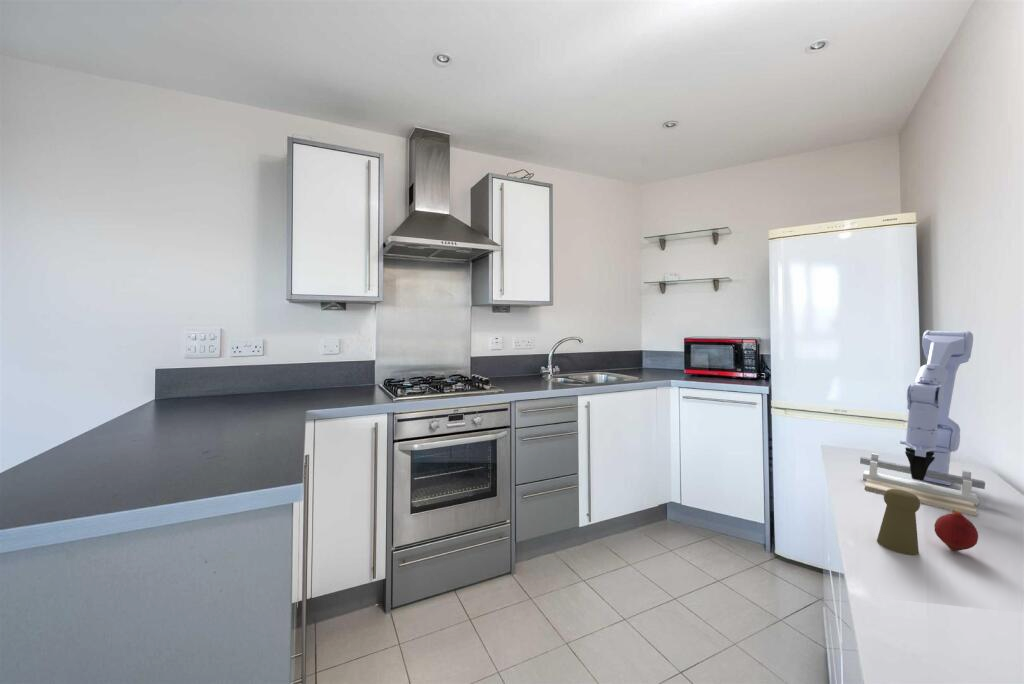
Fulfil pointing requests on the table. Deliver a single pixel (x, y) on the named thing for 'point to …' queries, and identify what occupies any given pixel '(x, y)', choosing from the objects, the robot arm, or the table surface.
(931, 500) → the beech board
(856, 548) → the table surface
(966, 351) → the robot arm
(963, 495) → the bracket stand
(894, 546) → the cork
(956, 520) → the onion
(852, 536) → the table surface
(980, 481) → the steel rail
